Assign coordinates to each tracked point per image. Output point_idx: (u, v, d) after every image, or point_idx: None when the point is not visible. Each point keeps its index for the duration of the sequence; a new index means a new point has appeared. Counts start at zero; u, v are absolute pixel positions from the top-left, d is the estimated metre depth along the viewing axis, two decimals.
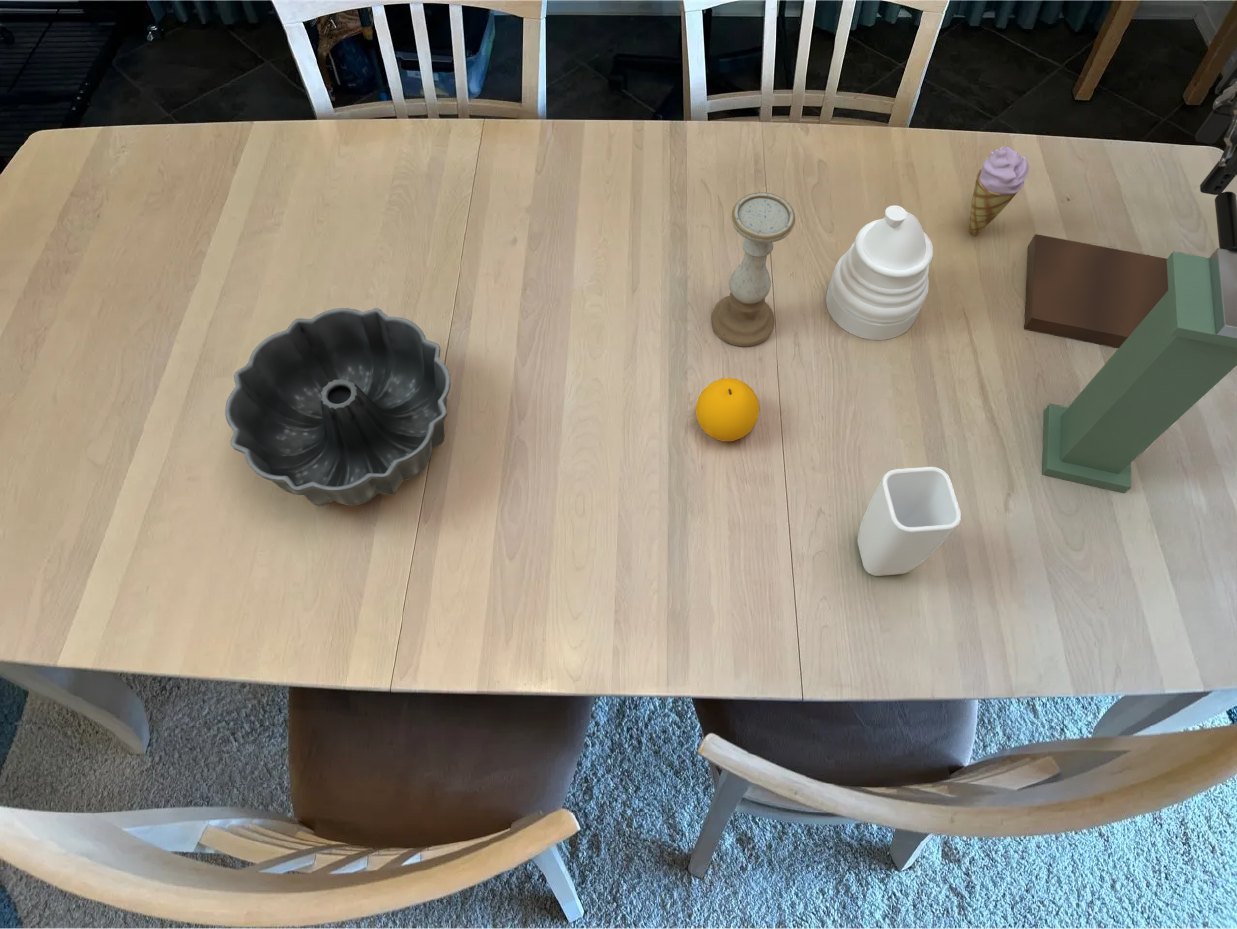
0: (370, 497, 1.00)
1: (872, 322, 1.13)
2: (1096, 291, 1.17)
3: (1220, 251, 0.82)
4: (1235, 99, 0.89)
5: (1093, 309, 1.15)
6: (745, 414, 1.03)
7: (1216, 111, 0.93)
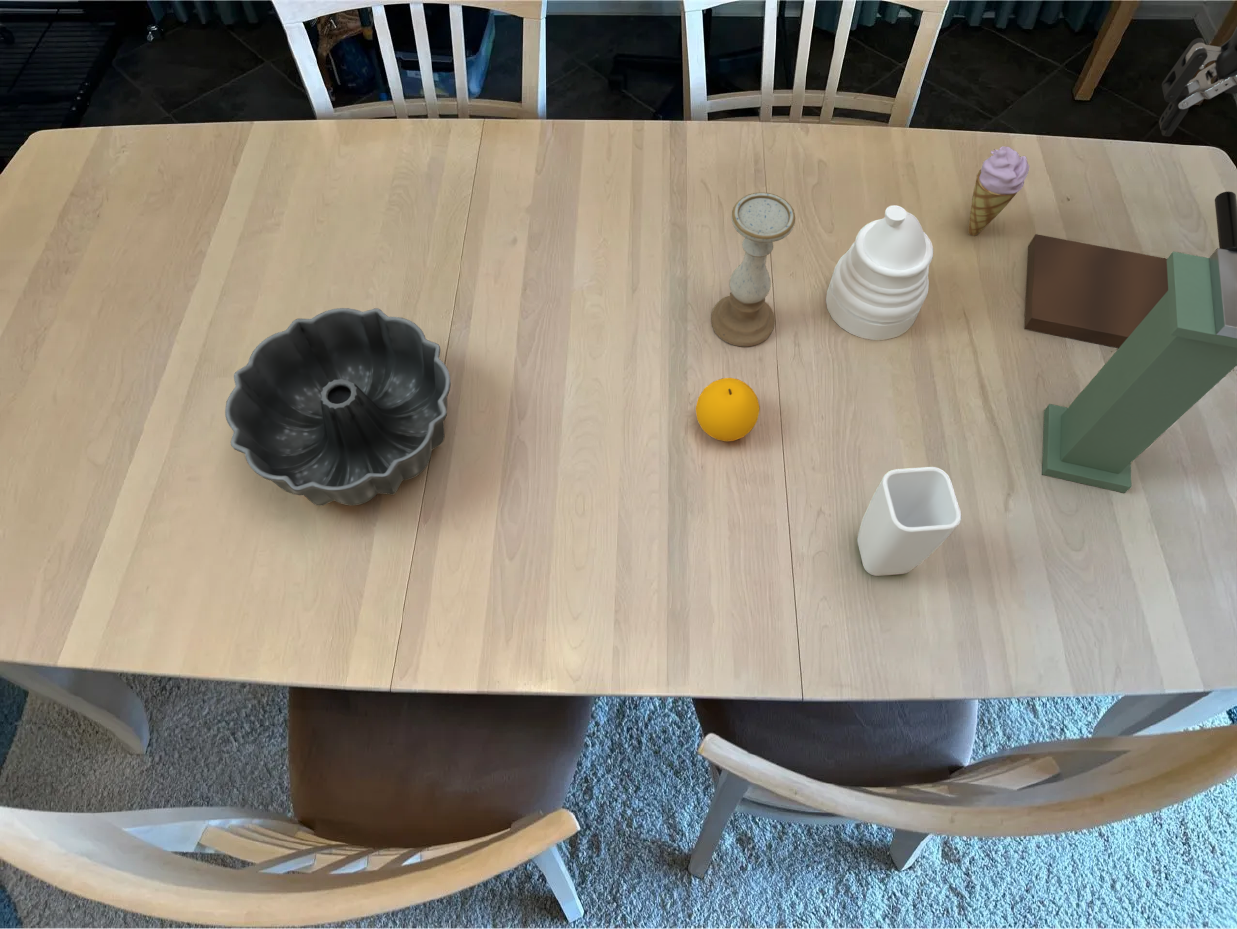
0: (370, 497, 1.00)
1: (872, 322, 1.13)
2: (1096, 291, 1.17)
3: (1220, 251, 0.82)
4: None
5: (1093, 309, 1.15)
6: (745, 414, 1.03)
7: None
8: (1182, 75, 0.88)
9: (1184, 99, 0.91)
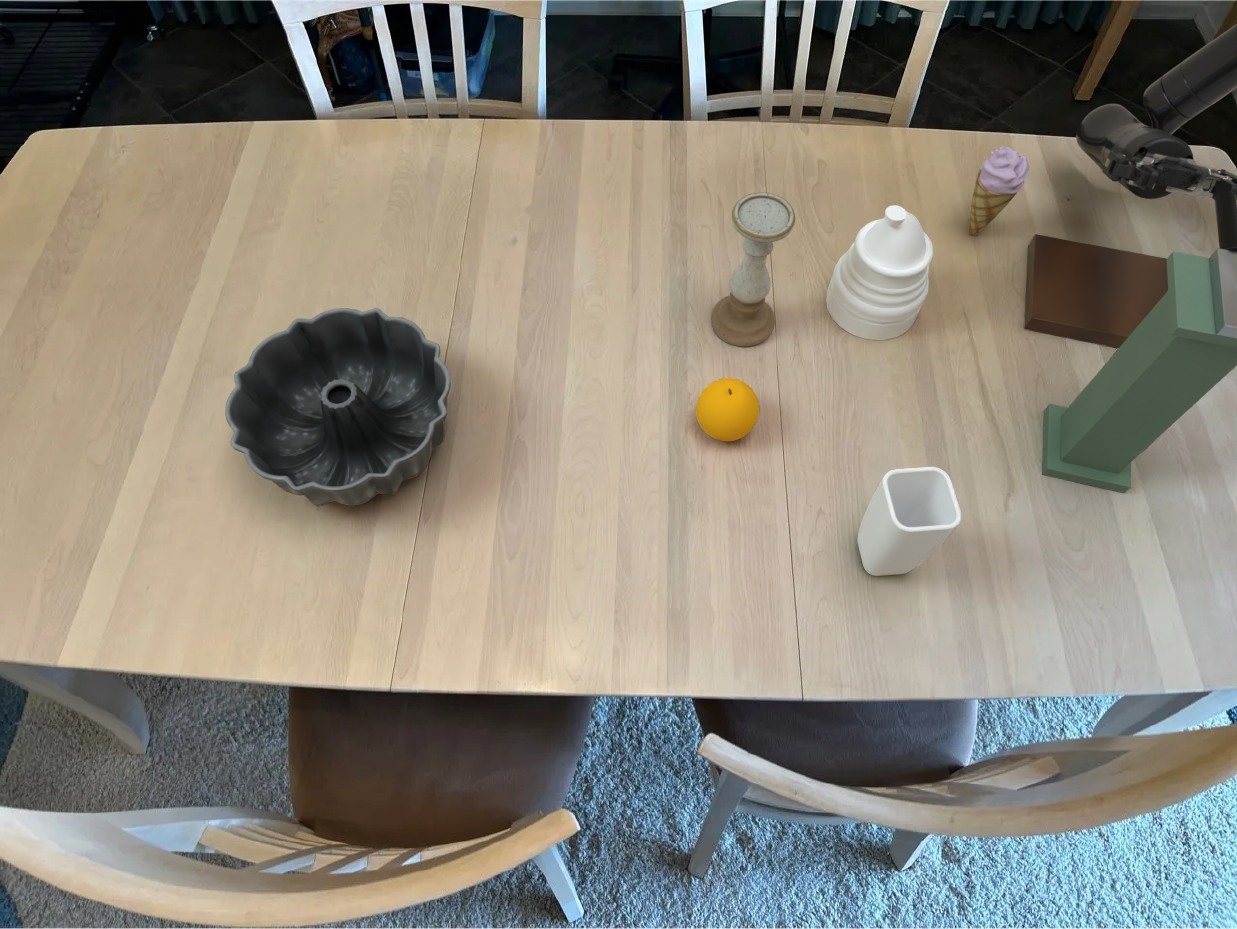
0: (370, 497, 1.00)
1: (872, 322, 1.13)
2: (1096, 291, 1.17)
3: (1220, 251, 0.82)
4: (1180, 187, 1.01)
5: (1093, 309, 1.15)
6: (745, 414, 1.03)
7: (1216, 195, 0.97)
8: (1115, 154, 1.01)
9: None
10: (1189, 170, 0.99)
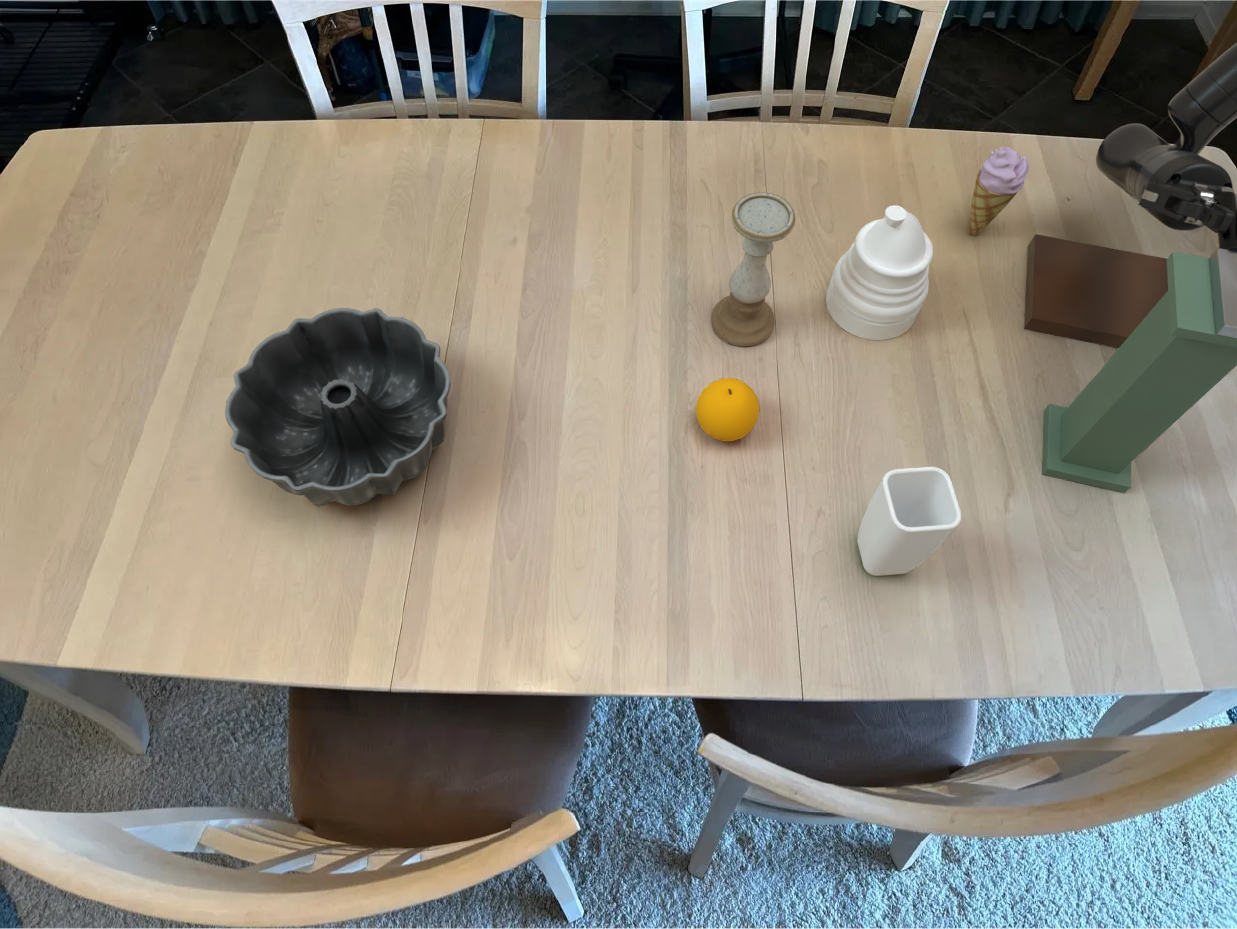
0: (370, 497, 1.00)
1: (872, 322, 1.13)
2: (1096, 291, 1.17)
3: (1220, 251, 0.82)
4: None
5: (1093, 309, 1.15)
6: (745, 414, 1.03)
7: None
8: (1167, 188, 0.89)
9: (1204, 200, 0.86)
10: None
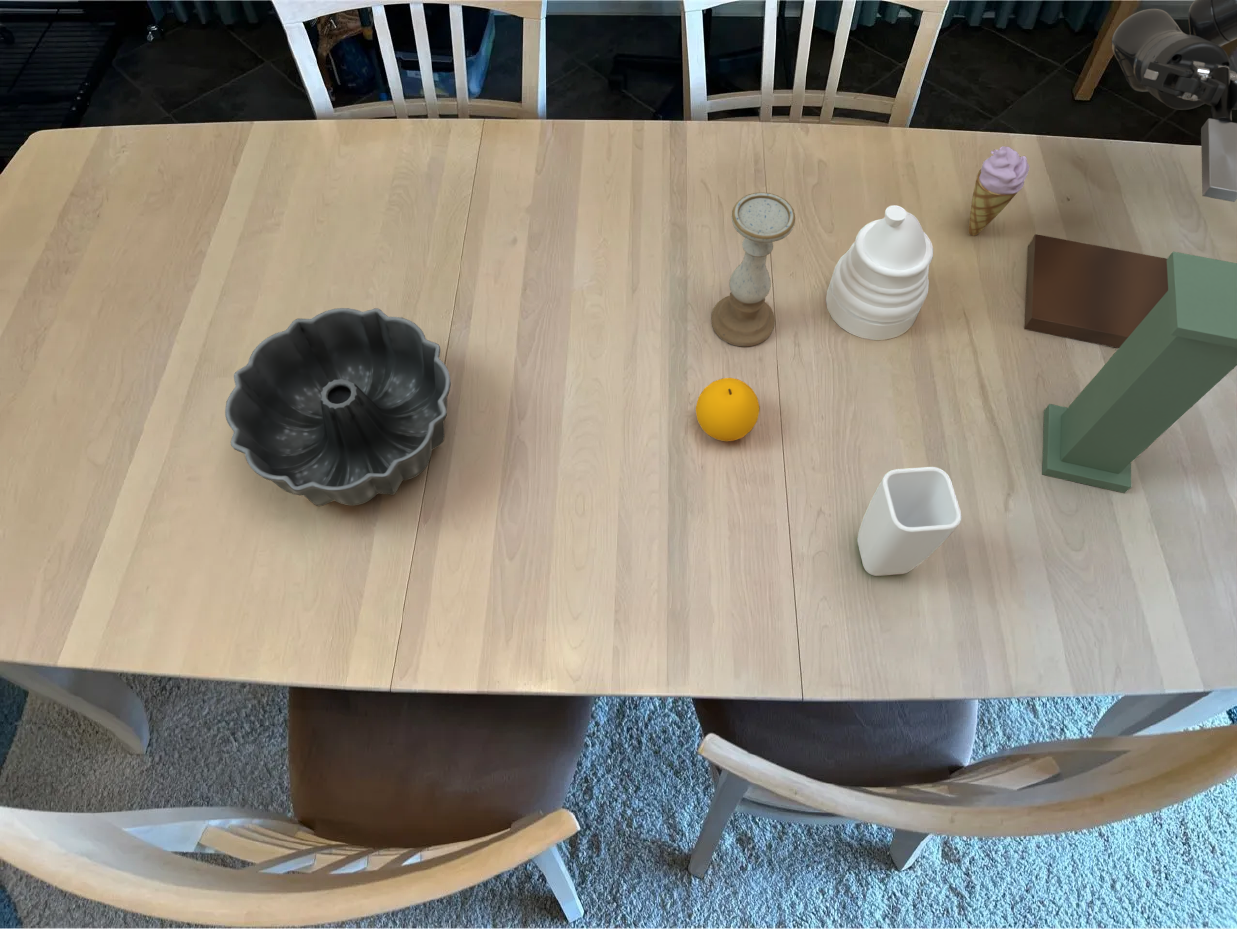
0: (370, 497, 1.00)
1: (872, 322, 1.13)
2: (1096, 291, 1.17)
3: (1211, 121, 0.90)
4: None
5: (1093, 309, 1.15)
6: (745, 414, 1.03)
7: None
8: (1166, 66, 0.96)
9: (1200, 76, 0.94)
10: None
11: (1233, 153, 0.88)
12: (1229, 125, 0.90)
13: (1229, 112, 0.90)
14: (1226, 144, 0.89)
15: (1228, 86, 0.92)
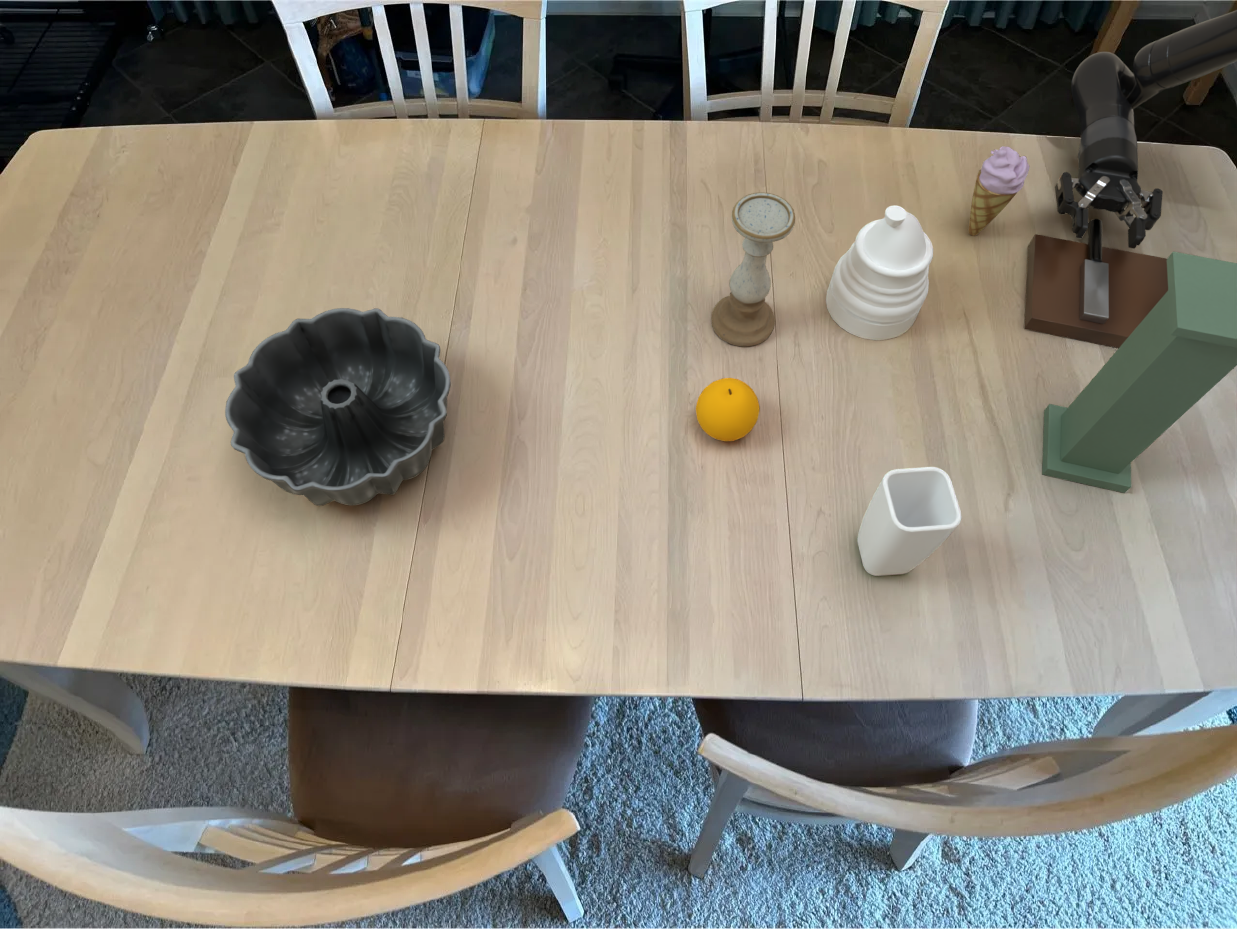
0: (370, 497, 1.00)
1: (872, 322, 1.13)
2: None
3: (1086, 261, 1.17)
4: None
5: None
6: (745, 414, 1.03)
7: None
8: (1064, 185, 1.19)
9: None
10: (1122, 199, 1.18)
11: (1103, 287, 1.15)
12: (1100, 264, 1.17)
13: (1100, 254, 1.18)
14: (1098, 280, 1.16)
15: (1100, 234, 1.20)
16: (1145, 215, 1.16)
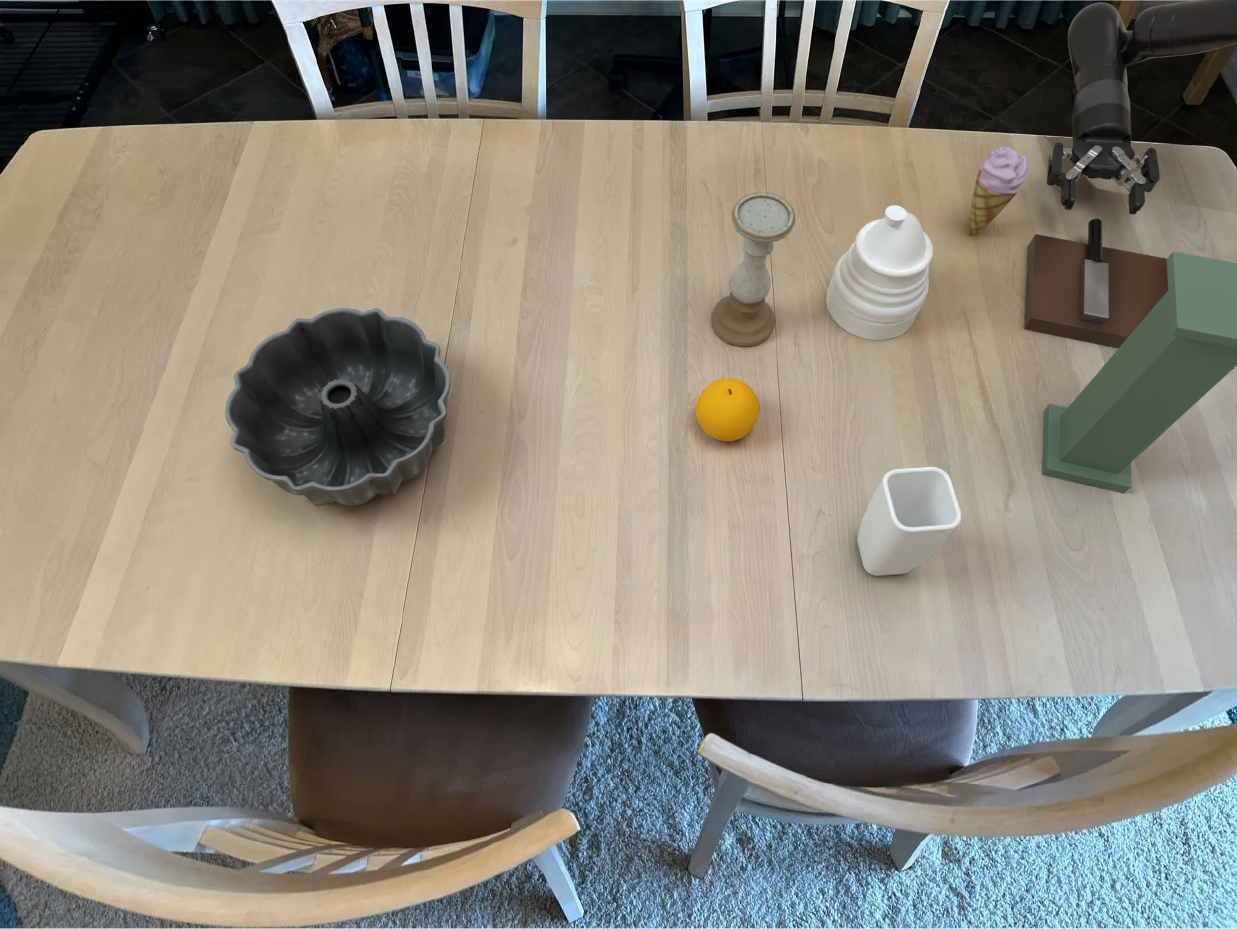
0: (370, 497, 1.00)
1: (872, 322, 1.13)
2: None
3: (1086, 261, 1.17)
4: None
5: None
6: (745, 414, 1.03)
7: None
8: (1054, 156, 1.22)
9: None
10: (1115, 167, 1.21)
11: (1103, 287, 1.15)
12: (1100, 264, 1.17)
13: (1100, 254, 1.18)
14: (1098, 280, 1.16)
15: (1100, 234, 1.20)
16: (1144, 180, 1.19)
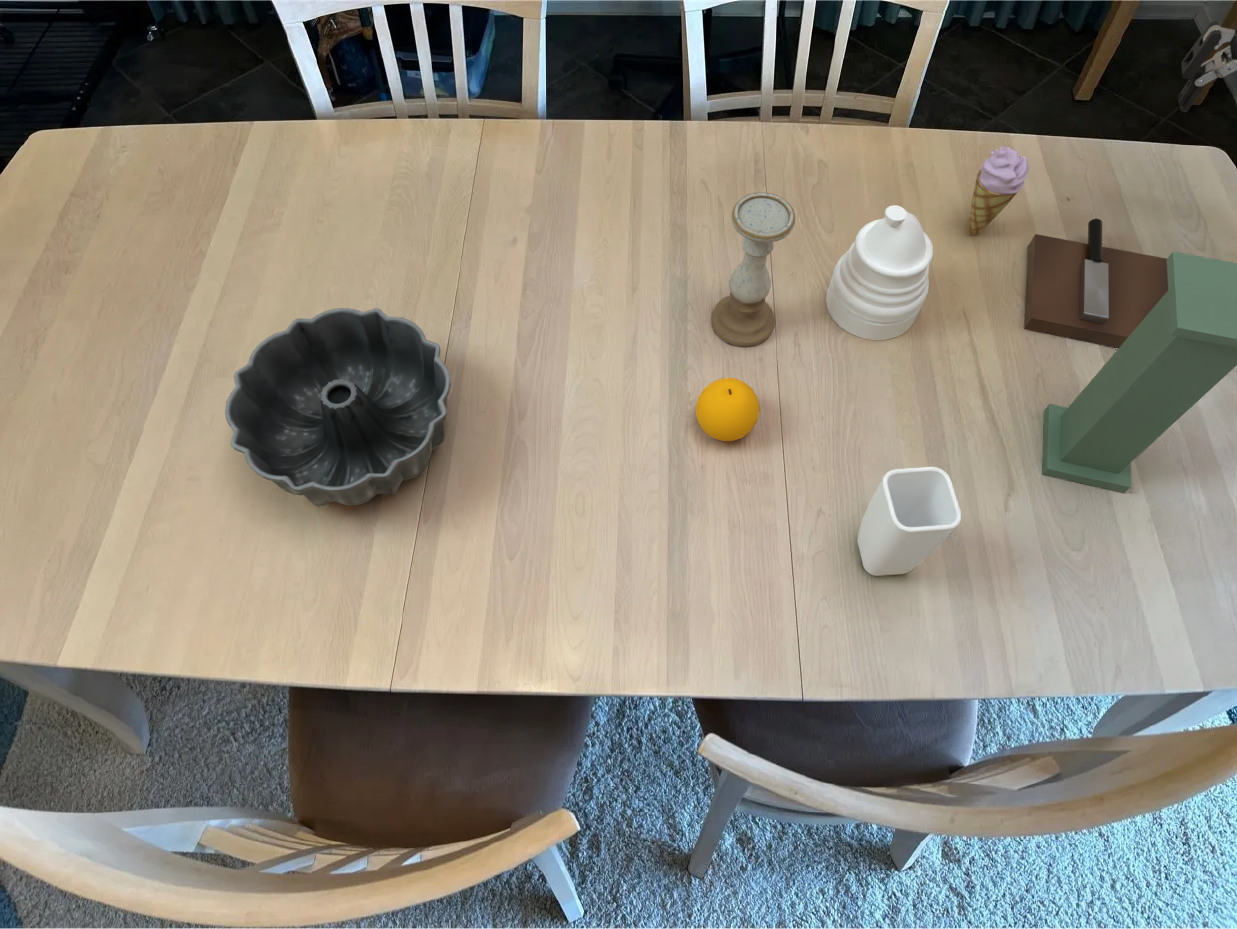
0: (370, 497, 1.00)
1: (872, 322, 1.13)
2: None
3: (1086, 261, 1.17)
4: None
5: None
6: (745, 414, 1.03)
7: None
8: (1198, 54, 0.99)
9: (1200, 77, 1.01)
10: None
11: (1103, 287, 1.15)
12: (1100, 264, 1.17)
13: (1100, 254, 1.18)
14: (1098, 280, 1.16)
15: (1100, 234, 1.20)
16: None
